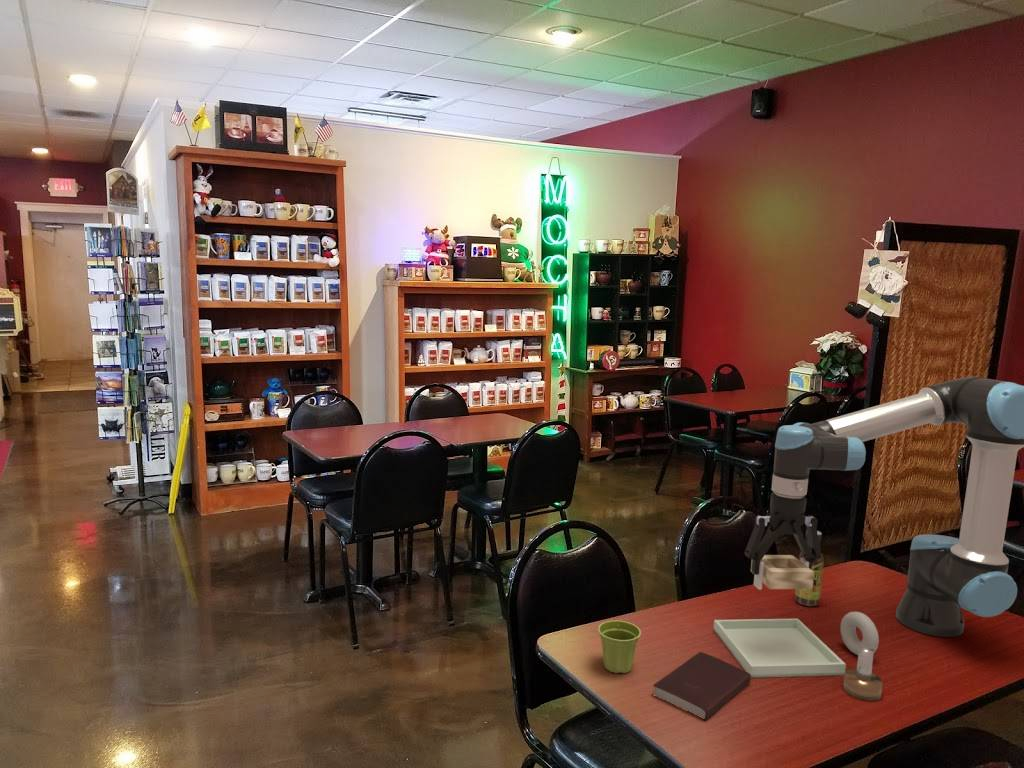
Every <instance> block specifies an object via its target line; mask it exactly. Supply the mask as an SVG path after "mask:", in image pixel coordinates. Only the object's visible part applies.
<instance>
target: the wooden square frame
mask: <svg viewBox="0 0 1024 768" xmlns="http://www.w3.org/2000/svg"><path fill="white" fill-rule="evenodd" d="M762 561H763V562H764V570H763V581H762V584H764V585H765V586H766V587H767V588H768V589H769V590H796V589H812V587H813V578H814V572H813V571H812V570H811V569H810V568H808V567H807V566H806V565H804V564H803V563H802V562H801V561H799V558H797V557H795V556H794V555H793V554H765V555H764V557H763V558H762ZM751 569H752V560H751V564H750V572H751V573H752V574H753V575H754V573H753V572H752V570H751Z"/></svg>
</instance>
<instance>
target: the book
mask: <svg viewBox="0 0 1024 768" xmlns="http://www.w3.org/2000/svg"><path fill="white" fill-rule="evenodd" d="M750 683H751V675H750V673H748V672H746V671H745V670H744V669H741V668H739V667H738V666H735V665H733V664H731V663H728V662H726V661H724V660H722V659H719V658H718V657H715V656H712V655H711V654H708V653H705V652H702V651H699V652H697V654H695V655H693V656H691V658H688V659H687V660H686V661H685V662H683V663H682V664H681V665H679V666H678V667H676V668H675V669H673V670H672V671H670V672H669V673H668V674H667V675H665V676H663V677H662V678H660V679H659V680H658V681H656V682H655V683H654V684H653V685H652V686H653V687H654V691H653V694H655V695H656V696H658V697H661V698H663V699H664V700H666V701H669V702H670V703H673V704H675V705H677V706H679V707H681V708H684V709H686V710H687V711H689V712H692V713H694V714H696V715H698V716H701V717H702V718H704V719H705V721H707V720H708V719H709V718H710V717H712V716H713V715H714V714H715V713H717V712H718V709H719V708H720V709H721V708H722V707H723V706H725V705H726V704H727V703H729V702H730V699H731V698H732V699H733V698H734V697H735V696H737V695H736V694H737V693H738V694H739V693H740V692H742V691H743V690H744V689H745V688H747V687H749V685H750ZM746 686H747V687H746ZM743 688H744V689H743ZM742 689H743V690H742ZM658 697H657V698H658ZM732 699H731V700H732ZM664 700H663V701H664ZM666 701H665V702H666ZM670 703H669V704H670ZM681 708H680V709H681ZM720 709H719V710H720ZM687 711H686V712H687ZM689 712H688V713H689ZM713 713H714V714H713ZM712 714H713V715H712ZM706 719H707V720H706Z"/></svg>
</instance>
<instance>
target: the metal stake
mask: <svg viewBox="0 0 1024 768" xmlns="http://www.w3.org/2000/svg"><path fill="white" fill-rule="evenodd" d="M874 654H875V652H874V650H873V649H872V648H870V647H868V646H860V647H859V653H858V655H857V663H856V668H850V669H847V670H845V675H843V678H844V679H843V687H842V688H843V690H844V691H845V692H846V693H847V694H848V695H850V696H852V697H853V698H856V699H859V700H862V701H867V702H875V701H878V700H880V699H881V698H882V690H883V680H882V678H881V677H879V675H877V674H875V673H874V672H872V670H873V664H874Z"/></svg>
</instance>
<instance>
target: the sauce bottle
mask: <svg viewBox="0 0 1024 768" xmlns="http://www.w3.org/2000/svg"><path fill="white" fill-rule="evenodd" d="M817 535H818V540H819V545H820V546H821V541H822V538H823V533H822V532H821V531H819V530H817ZM805 541H806V543H807V545H808V547H809V549H810V544H809V539H808V534H807V530H805ZM810 552H811V550H810ZM821 556H822V557H821V559H815V560H816V561H815V563H812V571H813V572H814V578H813V587H812V589H806V590H803V589H794V594H795V598H794V599H795V600H794V601H795V602H796V603H798V604H800V605H803V606H807V607H816V606H818V605H819V603H820V599H821V593H822V584H823V582H822V581H823V571H824V564H825V563H824V555H823V554H822V553H821ZM800 558H804V556H803V554H802V552H801V551H800V553H799V556H798V560H799V561H800Z"/></svg>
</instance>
